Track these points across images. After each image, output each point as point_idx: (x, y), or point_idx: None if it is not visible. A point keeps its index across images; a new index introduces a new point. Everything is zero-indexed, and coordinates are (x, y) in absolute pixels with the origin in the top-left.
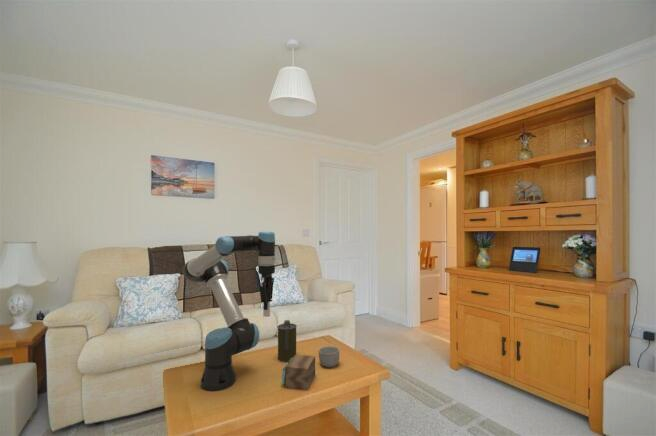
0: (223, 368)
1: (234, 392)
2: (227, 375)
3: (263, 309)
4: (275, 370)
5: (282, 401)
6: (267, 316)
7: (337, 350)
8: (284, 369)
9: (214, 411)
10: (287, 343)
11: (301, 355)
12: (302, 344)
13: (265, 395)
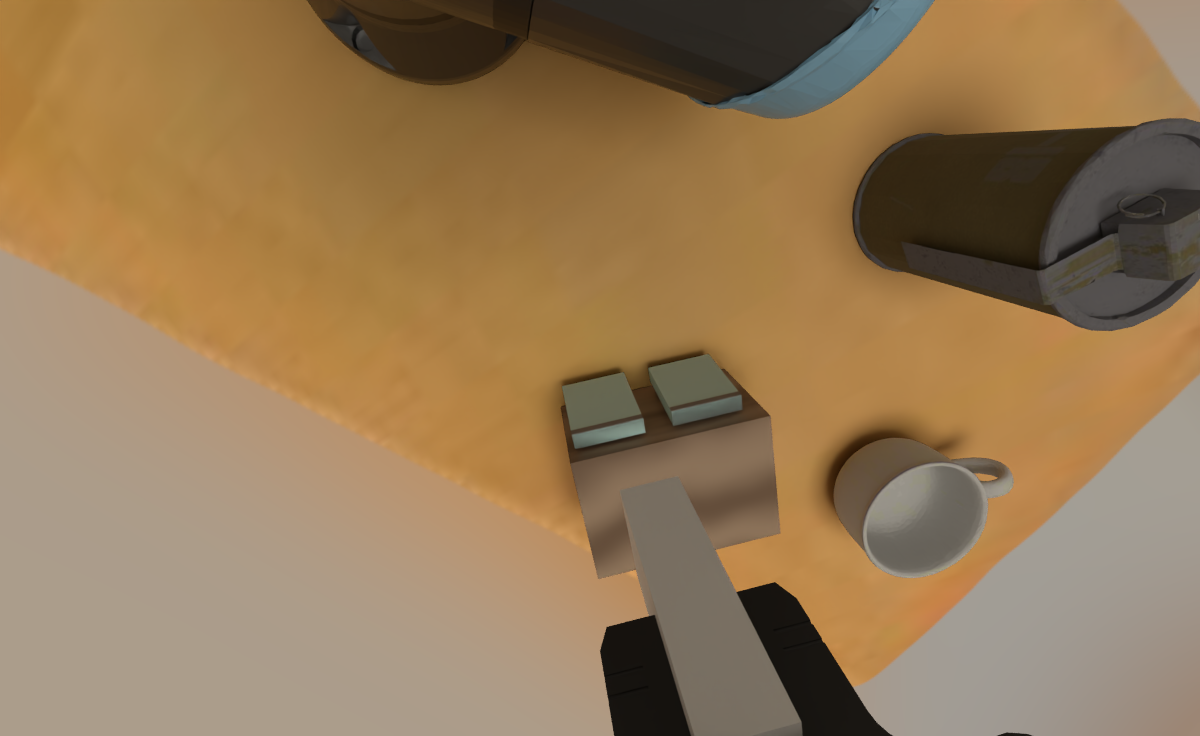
0: (355, 10)
1: (382, 165)
2: (395, 52)
3: (649, 584)
4: (728, 235)
5: (441, 461)
6: (634, 558)
7: (947, 546)
8: (573, 442)
9: (159, 201)
10: (938, 268)
11: (768, 457)
12: None
13: (447, 356)
